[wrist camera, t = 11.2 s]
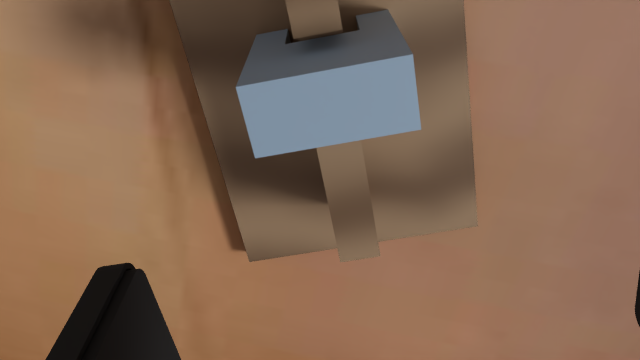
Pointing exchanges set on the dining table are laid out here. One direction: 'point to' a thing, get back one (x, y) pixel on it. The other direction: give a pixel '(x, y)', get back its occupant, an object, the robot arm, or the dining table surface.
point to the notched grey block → (328, 87)
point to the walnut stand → (346, 158)
